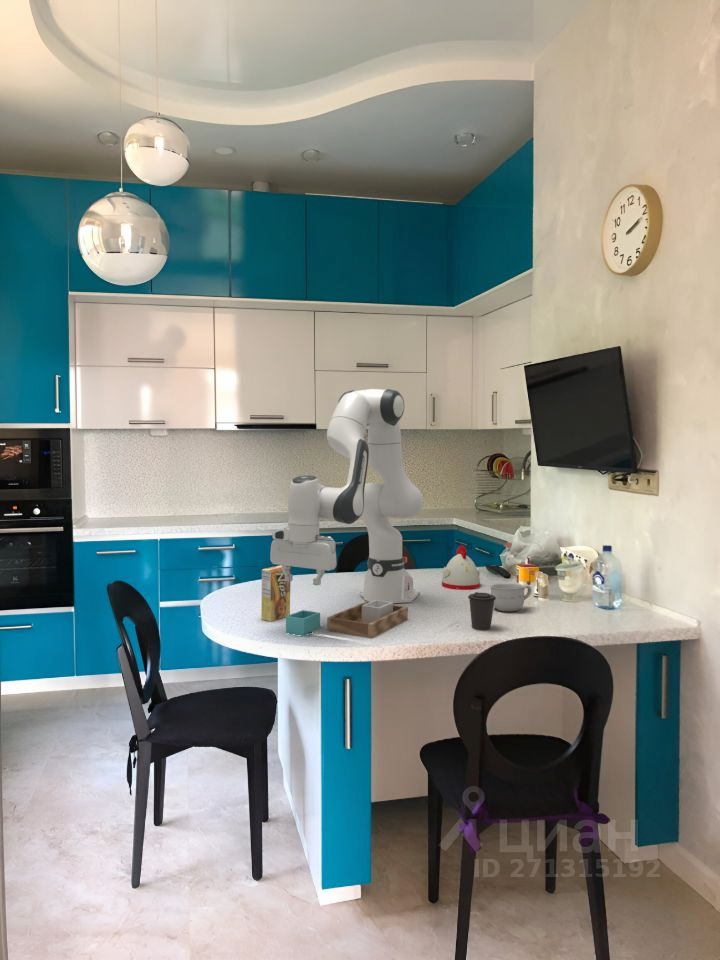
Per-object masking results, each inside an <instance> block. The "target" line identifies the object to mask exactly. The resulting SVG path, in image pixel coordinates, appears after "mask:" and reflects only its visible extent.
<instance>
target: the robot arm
mask: <svg viewBox="0 0 720 960" xmlns="http://www.w3.org/2000/svg"><path fill="white" fill-rule="evenodd" d="M404 412H405V400H404V397H403V395H402V394H401V393H400V392H399V391H398V390H394V389H390V388H387V389H384V388H383V389H382V388H369V389H360V390H358V389H357V390H354V389H353V390H348V391H345V392H344V393H342V395H340V397H339V399H338V401H337V405H336V407H335V409H334V411H333V413H332V416H331V418H330V421H329V425H328V427H327V430H326V439H327V442H328V445H329V446H330V447H331V449H332V450H333V451H334V452H336V453H337V454H339V455H340V456H342V457H345V458H347V459H348V460H349V468H348V469H349V470H348V474H347V480H346V481H347V482H346V484H345V485H344V486H342V487H329V486H325V485H323V484H321V483H320V482H319V480H318V479H319V478H318V476H315V475H299V476H297V477H294V478H292V479H291V481H290V484H289V489H288V497H287V499H288V500H287V501H288V502H287V509H288V513H289V516H288V520H287V527H284V528H282V529H281V528H280V529H278V530H275V531H273V532H272V536H271V537H272V539H273V540H272V542H271V545H270V553H269V554H270V555H269V557H270V562H271V564H273V565H277V566H280V565H282V571H283V573H284V575H285V581H289V582H290V583H291V582H293V580H294V579H293V577H294V575H293V574H290V572H289V569H288V568H290V567H295V568H302V569H310V570H311V569H312V570H316V574H317V575H316V577H314V578H313V579H312V581H313V583H312V585H313V586H321V584H322V578H323V576H324V575H325V573H326V572H325V571H327V572H328V571H329V572H330V571H333V570H335V568H336V567H337V553H336V545H337V543H336V541H335V540H334V538H332V536H328V535H327V536H324V535H320V520H321V521H326V522H336V523H341V524H345V525H346V524H347V525H351V524H353V523H355V522H356V521H357V520H359V519H360V518H361V519H362V521H363V522H364V525H365V527H366V530H367V534H368V548H369V549H368V550H369V551H368V553H369V555H368V557H367V568H368V569H367V570H366V571H365V573H364V576H363V586H362V587H363V590H362V592H360V593H359V597H362V598H363V600H365V602H366V601H368V602H371V601H374V600H380V601H388V602H393V604H399V603H400V604H401V603H405V604H406V603H412V601H414V600H415V599H416V598H417V597H418V596H419V595H420V593H421V592H420V590H418V589H415V588H414V578H413V577H412V575H410V573H409V572H408V571H407V569H405V564H407V562H408V556H403V536H402V534H401V532H400V530H398V529H397V528H395V527H394V526H393V525H392V524H391V522H390V520H389V518H400V519H401V518H402V519H403V518H404V519H405V518H411V517H417V516H418V515H419V514H420V512H421V511H422V509H423V506H424V496H423V493H422V491H421V490H420V489H419V487H417V486H416V485H414V483H413V482H412V481H411V480H410V478H409V477H408V475H407V473H406V470H405V466H404V461H403V454H402V453H403V450H402V434H401V433H402V432H401V424H400V420H401V419H402V417H403V415H404ZM367 427H368V428H367ZM366 430H367V442H366V440H365V434H366ZM368 465H369V467H368ZM368 468H370V469H371V470H372V471H373V472H374V473H376V474H377V475H379V477H380V478H381V480H382V481H383V483H380V482H377V483H376V482H368V483H366V481H367V480H366V479H367V473H368Z"/></svg>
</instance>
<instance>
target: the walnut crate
mask: <svg viewBox="0 0 720 960" xmlns="http://www.w3.org/2000/svg"><path fill="white" fill-rule="evenodd" d="M369 602H370V601H366V600H365V601H364V602H362V603H358V604H357V605H353V606H352V607H349V608H347V609H345V610H343V611H340V612H338V613H335V614H333V615H330V616H328V617H326V631H327V632H332V633H337V634H343V635H348V636H355V637H361V638H367V639H373V638H375V637H376V636H378V635H381V634H382V633H384V632H386V631H389V630H390V629H392V628H394V627H397V626H398V625H400V624H403V622H406V621H409V619H408V618H409V616H408V615H409V607H408V606H403V605H397V604H396V605H395V604H393V613H391V614H388V615H386V616H384V617H382V618H380V619H378V620H376V621H374V622H372V623H365V622H362V605H364V604H367V603H369Z"/></svg>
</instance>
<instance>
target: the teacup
mask: <svg viewBox="0 0 720 960" xmlns="http://www.w3.org/2000/svg"><path fill="white" fill-rule="evenodd" d="M525 589H527V592H526V594H525ZM490 594H491V595H494V596H495V598H496V600H494V607H495V608H496V610H498V611H501V612H517V611H519V610H520V609H521V608H522V607H523V606H524V605H525V600H527V599H528V598H529V597H530V596H531V594H532V587H531V586H530V585H528V584H519V583H513V582H511V583H510V582H508V583H506V582H503V583H502V582H501V583H499V582H498V583H493V584H491V585H490ZM494 607H493V608H494Z"/></svg>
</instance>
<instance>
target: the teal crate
mask: <svg viewBox="0 0 720 960" xmlns="http://www.w3.org/2000/svg"><path fill="white" fill-rule="evenodd" d="M320 627H321V612H317V611H311V610H306V609H305V610H304V609H301V610H298V611H297V612H294V613H290V615H288V616H286V617H285V634H286V633H289V634H288V635H292V634H295V635H294V636H297V635H301V636H300V637H303V636H304V637H306V636H308V635H307V634H309V635H310V633H311V634H313V633H312V632H313V630H316V629H318V628H320ZM305 635H306V636H305Z"/></svg>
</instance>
